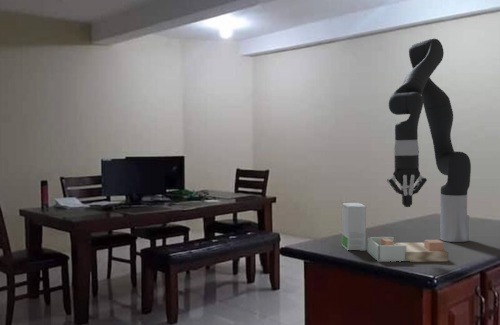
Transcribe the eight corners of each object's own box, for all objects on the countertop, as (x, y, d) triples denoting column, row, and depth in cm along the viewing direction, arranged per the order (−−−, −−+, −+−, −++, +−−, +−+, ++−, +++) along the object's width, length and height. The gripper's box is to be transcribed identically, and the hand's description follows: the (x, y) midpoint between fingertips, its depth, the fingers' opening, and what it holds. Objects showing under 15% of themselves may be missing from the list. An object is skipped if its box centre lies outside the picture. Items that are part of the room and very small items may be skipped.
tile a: (388, 238, 163) (381, 238, 163) (393, 241, 159) (385, 241, 159) (388, 251, 164) (381, 252, 163) (393, 254, 159) (385, 255, 159)
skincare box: (341, 246, 175) (341, 202, 175) (359, 245, 176) (359, 202, 175) (348, 251, 167) (347, 205, 167) (366, 250, 168) (366, 205, 167)
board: (431, 251, 166) (431, 242, 166) (448, 261, 152) (448, 251, 152) (393, 251, 166) (393, 242, 166) (406, 261, 152) (406, 252, 152)
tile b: (438, 247, 158) (438, 239, 158) (443, 250, 153) (443, 242, 153) (424, 247, 158) (424, 239, 158) (429, 250, 153) (429, 242, 153)
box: (393, 251, 166) (393, 236, 165) (406, 261, 152) (406, 245, 151) (367, 251, 166) (367, 237, 165) (378, 262, 152) (378, 246, 151)
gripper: (422, 153, 164) (422, 204, 165) (383, 154, 164) (383, 205, 164) (431, 153, 156) (431, 207, 157) (389, 154, 156) (390, 208, 157)
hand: (407, 206), depth 161 cm, fingers closed
